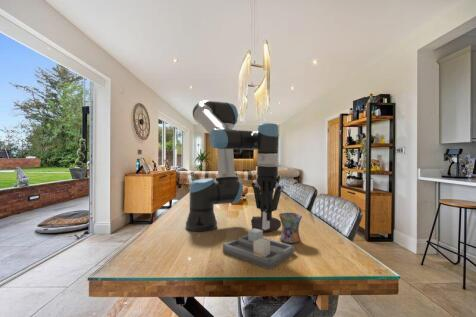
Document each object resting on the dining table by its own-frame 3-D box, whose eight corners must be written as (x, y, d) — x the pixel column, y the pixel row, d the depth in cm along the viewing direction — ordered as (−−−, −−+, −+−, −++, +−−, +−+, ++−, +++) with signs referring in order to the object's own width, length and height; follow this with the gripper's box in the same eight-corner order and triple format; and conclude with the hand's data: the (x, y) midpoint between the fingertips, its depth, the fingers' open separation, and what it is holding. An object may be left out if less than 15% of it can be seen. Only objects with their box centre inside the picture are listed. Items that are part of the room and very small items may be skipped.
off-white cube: (253, 254, 78) (253, 241, 78) (260, 251, 81) (260, 238, 81) (263, 258, 75) (263, 244, 75) (269, 254, 79) (270, 241, 78)
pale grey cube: (248, 242, 90) (248, 230, 90) (254, 239, 93) (254, 228, 93) (256, 244, 87) (256, 232, 87) (262, 241, 90) (262, 230, 90)
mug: (303, 245, 92) (303, 218, 92) (279, 244, 92) (280, 217, 92) (298, 235, 104) (298, 211, 104) (277, 234, 104) (277, 210, 104)
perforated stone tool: (279, 228, 113) (279, 214, 113) (283, 232, 108) (283, 217, 108) (249, 230, 111) (249, 215, 111) (251, 233, 105) (251, 218, 105)
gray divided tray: (222, 251, 84) (222, 244, 84) (249, 240, 97) (249, 233, 97) (269, 269, 72) (269, 260, 71) (293, 253, 84) (294, 245, 84)
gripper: (247, 164, 88) (246, 227, 88) (277, 166, 79) (275, 235, 80) (258, 164, 93) (257, 222, 94) (288, 166, 85) (286, 230, 86)
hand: (266, 228), depth 87 cm, fingers closed
